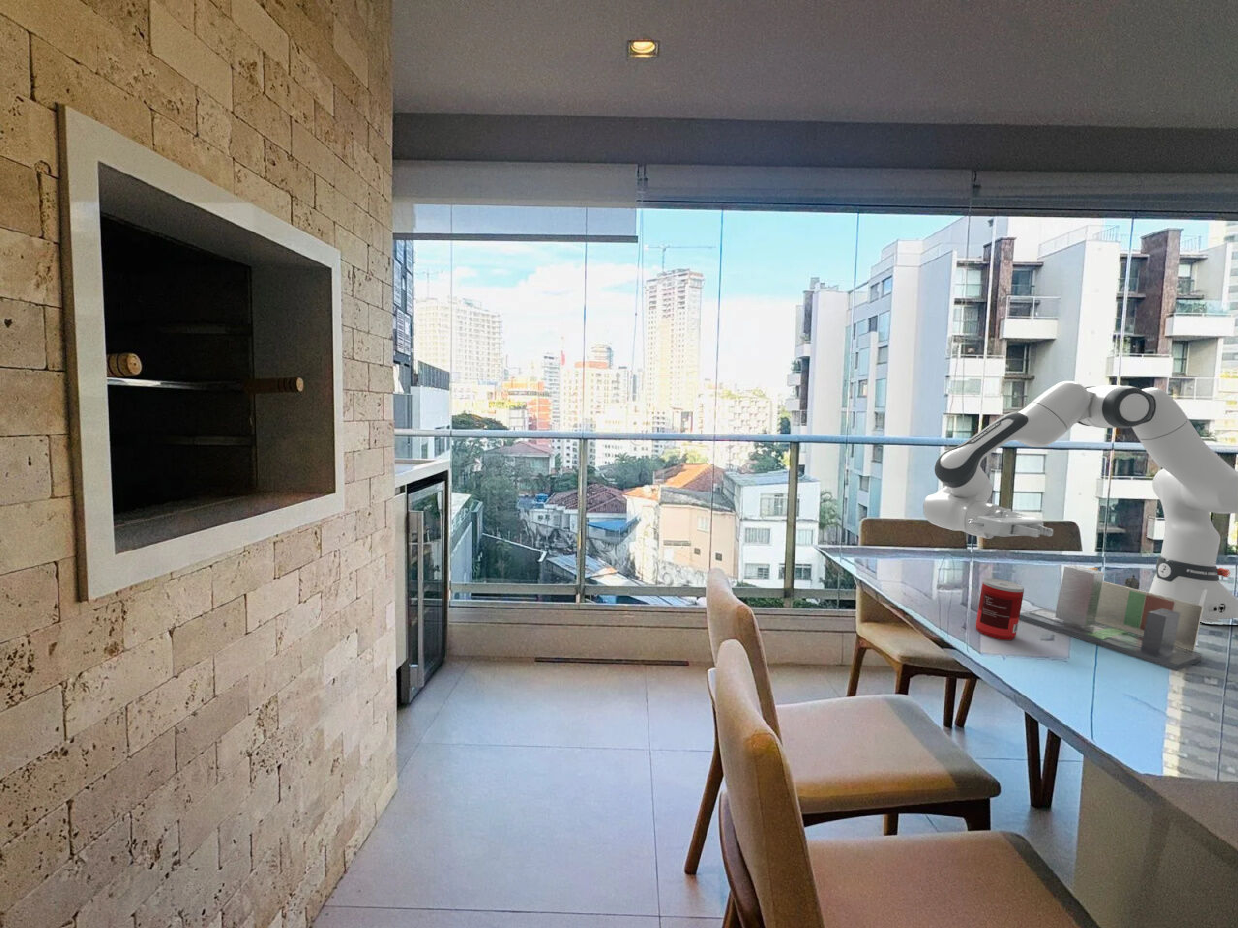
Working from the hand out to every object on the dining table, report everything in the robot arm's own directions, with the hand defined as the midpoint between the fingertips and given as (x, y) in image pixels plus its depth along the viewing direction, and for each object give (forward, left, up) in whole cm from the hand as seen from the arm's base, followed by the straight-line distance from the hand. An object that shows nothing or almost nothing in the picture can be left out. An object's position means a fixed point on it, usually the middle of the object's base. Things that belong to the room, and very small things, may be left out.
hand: (1045, 533), depth 156 cm
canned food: (+19, +16, -20) cm, 32 cm away
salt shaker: (-25, -1, -20) cm, 32 cm away
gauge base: (-11, +11, -20) cm, 25 cm away
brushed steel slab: (-6, +7, -18) cm, 20 cm away
